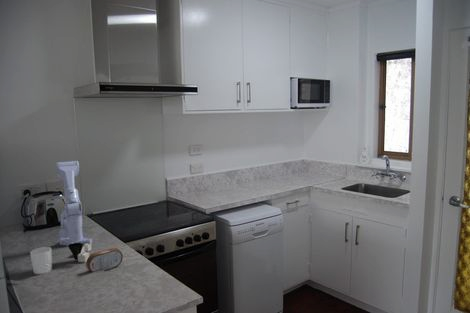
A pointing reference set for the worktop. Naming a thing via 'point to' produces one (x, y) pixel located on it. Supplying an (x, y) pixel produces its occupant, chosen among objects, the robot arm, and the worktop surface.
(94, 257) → the tin
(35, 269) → the white cup
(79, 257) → the tab
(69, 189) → the robot arm
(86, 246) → the light grey block
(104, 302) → the worktop surface
